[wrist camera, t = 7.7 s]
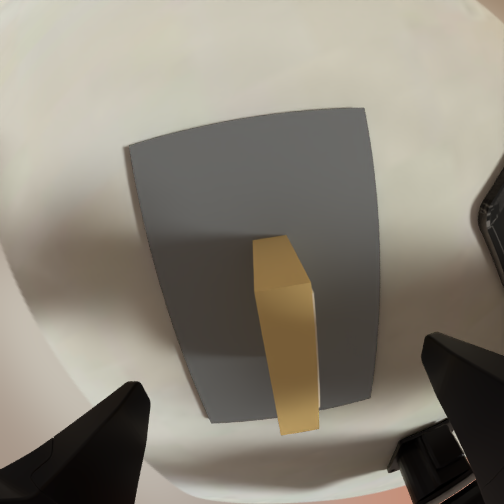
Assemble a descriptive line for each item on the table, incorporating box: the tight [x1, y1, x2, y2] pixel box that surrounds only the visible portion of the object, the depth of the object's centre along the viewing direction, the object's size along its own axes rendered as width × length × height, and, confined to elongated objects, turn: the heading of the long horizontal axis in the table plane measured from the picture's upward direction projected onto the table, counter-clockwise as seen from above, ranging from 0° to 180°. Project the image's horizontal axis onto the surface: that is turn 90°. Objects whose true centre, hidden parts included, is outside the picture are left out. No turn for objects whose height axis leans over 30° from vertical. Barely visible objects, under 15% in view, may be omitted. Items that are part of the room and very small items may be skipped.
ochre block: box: [253, 235, 320, 435], centre depth 10 cm, size 6×2×5 cm, turn 10°
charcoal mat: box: [129, 108, 380, 423], centre depth 13 cm, size 16×10×1 cm, turn 9°
